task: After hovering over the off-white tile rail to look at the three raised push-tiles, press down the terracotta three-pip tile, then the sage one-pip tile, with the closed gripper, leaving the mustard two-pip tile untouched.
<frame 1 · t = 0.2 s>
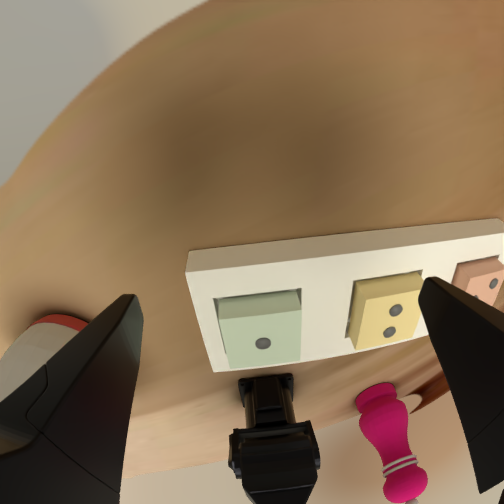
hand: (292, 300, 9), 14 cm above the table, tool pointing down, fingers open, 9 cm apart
tile rail: (371, 285, 27), on the table
pepper mill: (374, 393, 39), on the table
tile 1pip: (261, 333, 24), point 4 cm above the table, slide at 0.0 cm
citrus juicer: (73, 346, 30), on the table
tile 2pip: (387, 312, 24), point 4 cm above the table, slide at 0.0 cm
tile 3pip: (475, 291, 24), point 4 cm above the table, slide at 0.0 cm
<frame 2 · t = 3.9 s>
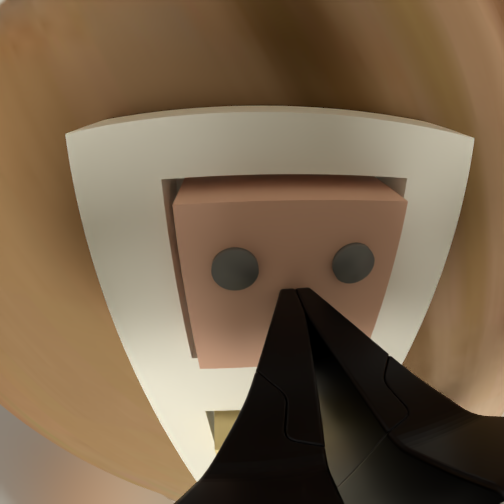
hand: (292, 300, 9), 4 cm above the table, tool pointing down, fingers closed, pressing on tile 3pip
tile rail: (267, 393, 17), on the table
tile 2pip: (274, 448, 14), point 4 cm above the table, slide at 0.0 cm
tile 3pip: (286, 278, 9), point 3 cm above the table, slide at 1.2 cm, touching gripper
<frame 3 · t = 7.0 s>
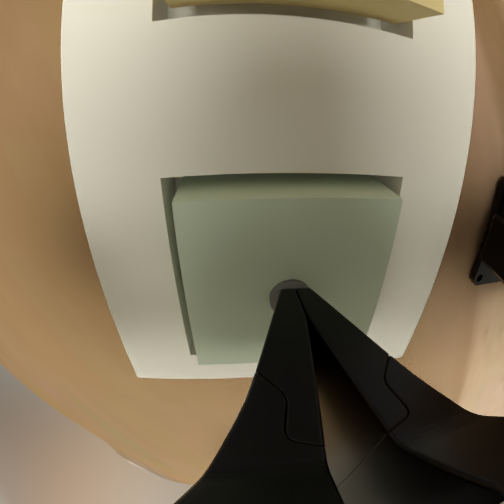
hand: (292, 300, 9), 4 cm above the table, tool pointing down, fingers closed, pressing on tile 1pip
tile 1pip: (284, 275, 10), point 3 cm above the table, slide at 1.2 cm, touching gripper
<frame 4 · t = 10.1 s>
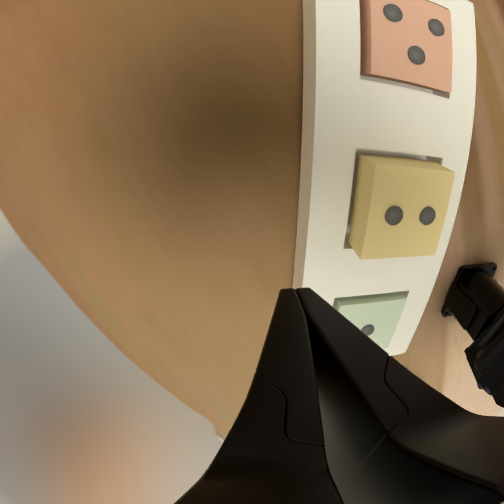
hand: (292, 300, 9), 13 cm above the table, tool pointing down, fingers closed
tile rail: (377, 187, 21), on the table
tile 1pip: (363, 321, 24), point 2 cm above the table, slide at 1.5 cm
tile 2pip: (402, 208, 17), point 4 cm above the table, slide at 0.0 cm
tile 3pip: (406, 38, 13), point 3 cm above the table, slide at 1.4 cm
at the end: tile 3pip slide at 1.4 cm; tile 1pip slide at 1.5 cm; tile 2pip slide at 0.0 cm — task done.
